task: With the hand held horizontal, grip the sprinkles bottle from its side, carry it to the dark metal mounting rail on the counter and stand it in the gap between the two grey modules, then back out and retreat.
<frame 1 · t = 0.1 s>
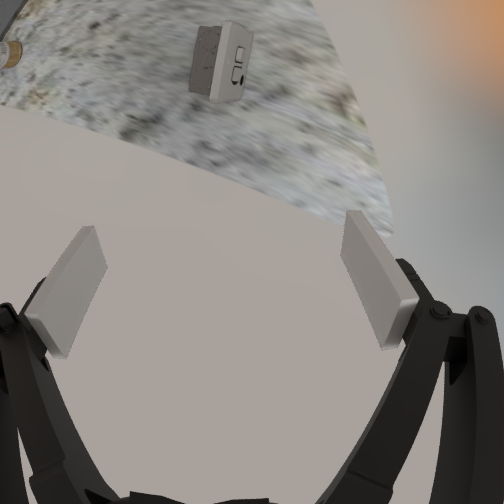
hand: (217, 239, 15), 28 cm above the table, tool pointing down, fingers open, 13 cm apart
electrical switch: (226, 65, 34), on the table
sprinkles bottle: (13, 54, 28), on the table
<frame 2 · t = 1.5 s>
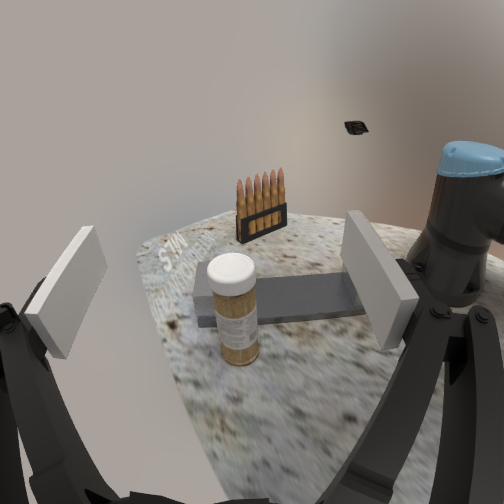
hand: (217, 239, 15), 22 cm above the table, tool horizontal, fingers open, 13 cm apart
ammunition clip: (262, 233, 59), on the table
sprinkles bottle: (240, 353, 36), on the table
rail: (289, 301, 43), on the table
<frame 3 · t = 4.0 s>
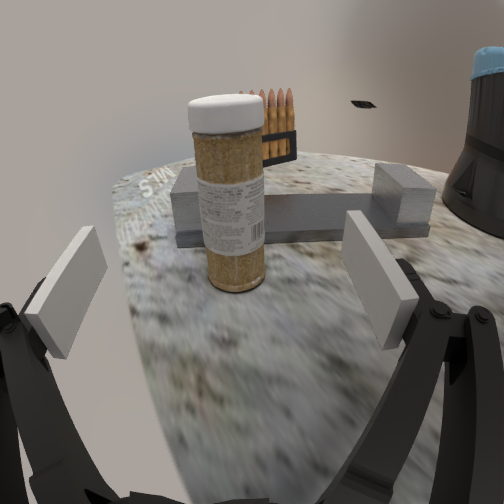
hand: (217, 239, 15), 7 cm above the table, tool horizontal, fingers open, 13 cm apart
ammunition clip: (267, 165, 47), on the table
sprinkles bottle: (237, 277, 24), on the table
rail: (306, 220, 31), on the table
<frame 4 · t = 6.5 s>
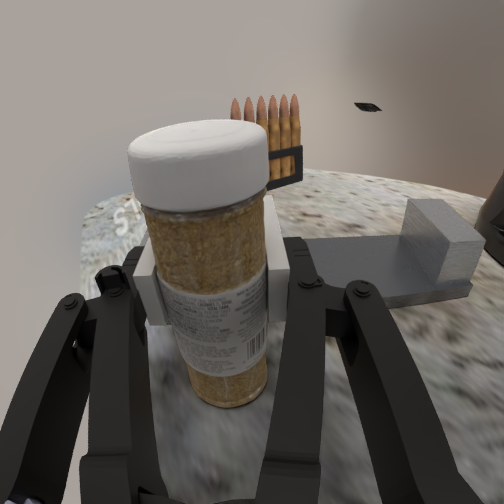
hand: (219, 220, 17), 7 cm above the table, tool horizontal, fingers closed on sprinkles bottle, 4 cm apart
ammunition clip: (268, 188, 40), on the table
sprinkles bottle: (229, 379, 17), on the table, touching gripper
rail: (320, 278, 24), on the table
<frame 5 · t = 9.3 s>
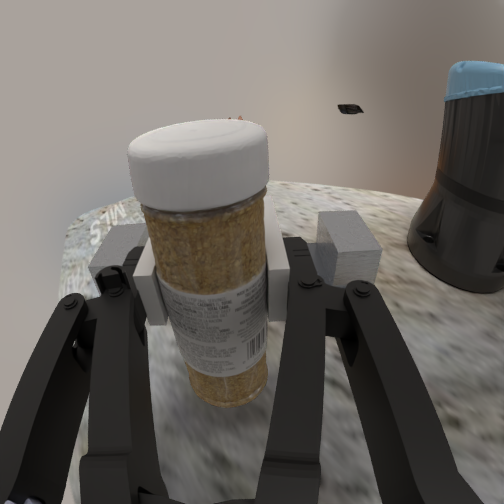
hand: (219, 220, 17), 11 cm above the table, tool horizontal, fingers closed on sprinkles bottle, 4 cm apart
sprinkles bottle: (229, 379, 17), point 4 cm above the table, touching gripper
rail: (235, 281, 30), on the table
when the fingers open (10 cm above the table, at t = 12.3 s): sprinkles bottle drops 1 cm, resting on rail.
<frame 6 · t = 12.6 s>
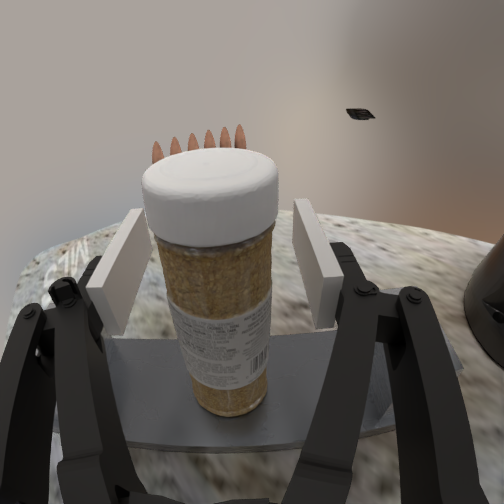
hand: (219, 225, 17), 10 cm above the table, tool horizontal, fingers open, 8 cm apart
ammunition clip: (211, 241, 34), on the table
sprinkles bottle: (230, 389, 17), point 1 cm above the table, touching rail
rail: (232, 396, 18), on the table
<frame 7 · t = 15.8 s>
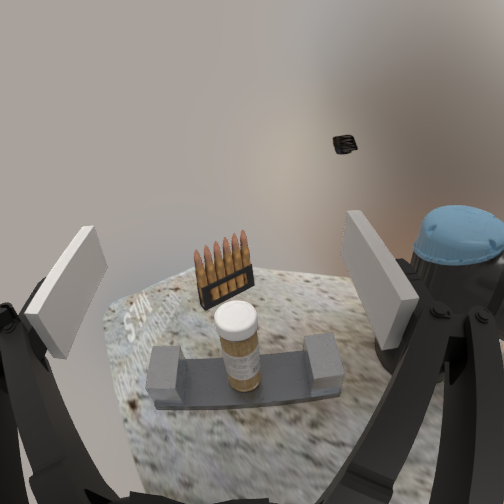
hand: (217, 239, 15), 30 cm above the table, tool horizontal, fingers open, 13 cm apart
ammunition clip: (228, 295, 56), on the table
sprinkles bottle: (245, 380, 40), point 1 cm above the table, touching rail
rail: (245, 383, 40), on the table
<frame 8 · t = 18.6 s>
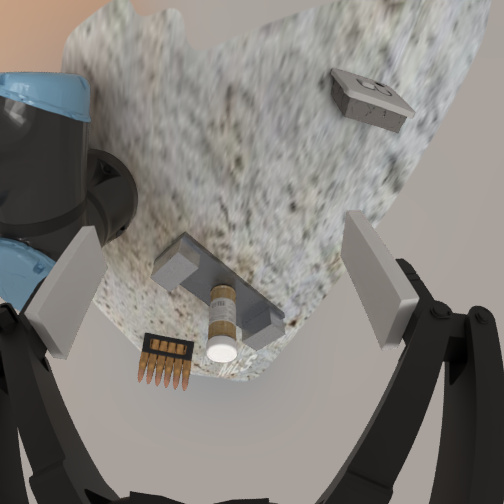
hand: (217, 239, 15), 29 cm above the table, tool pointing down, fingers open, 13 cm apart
ammunition clip: (169, 339, 63), on the table
electrical switch: (358, 94, 37), on the table
sprinkles bottle: (223, 292, 54), point 1 cm above the table, touching rail
rail: (223, 288, 55), on the table
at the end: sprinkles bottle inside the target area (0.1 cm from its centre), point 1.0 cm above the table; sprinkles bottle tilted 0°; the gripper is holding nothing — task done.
